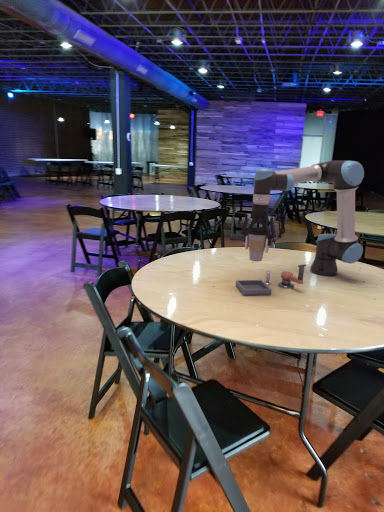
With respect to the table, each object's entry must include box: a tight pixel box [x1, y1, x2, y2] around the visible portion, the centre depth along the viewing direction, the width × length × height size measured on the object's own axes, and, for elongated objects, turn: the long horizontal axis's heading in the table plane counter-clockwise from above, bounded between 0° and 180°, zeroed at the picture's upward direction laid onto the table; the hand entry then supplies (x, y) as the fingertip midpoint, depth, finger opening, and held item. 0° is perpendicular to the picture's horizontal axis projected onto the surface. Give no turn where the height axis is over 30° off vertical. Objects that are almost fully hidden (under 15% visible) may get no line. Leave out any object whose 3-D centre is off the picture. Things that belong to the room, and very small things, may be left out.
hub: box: [277, 278, 295, 289], centre depth 177 cm, size 8×8×4 cm
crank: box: [280, 263, 307, 285], centre depth 172 cm, size 13×6×10 cm, turn 29°
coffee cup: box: [248, 227, 268, 263], centre depth 162 cm, size 9×9×15 cm
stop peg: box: [263, 270, 272, 286], centre depth 179 cm, size 4×4×7 cm
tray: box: [235, 279, 273, 297], centre depth 168 cm, size 14×14×3 cm
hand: (256, 250), depth 163 cm, fingers closed on coffee cup, 9 cm apart
